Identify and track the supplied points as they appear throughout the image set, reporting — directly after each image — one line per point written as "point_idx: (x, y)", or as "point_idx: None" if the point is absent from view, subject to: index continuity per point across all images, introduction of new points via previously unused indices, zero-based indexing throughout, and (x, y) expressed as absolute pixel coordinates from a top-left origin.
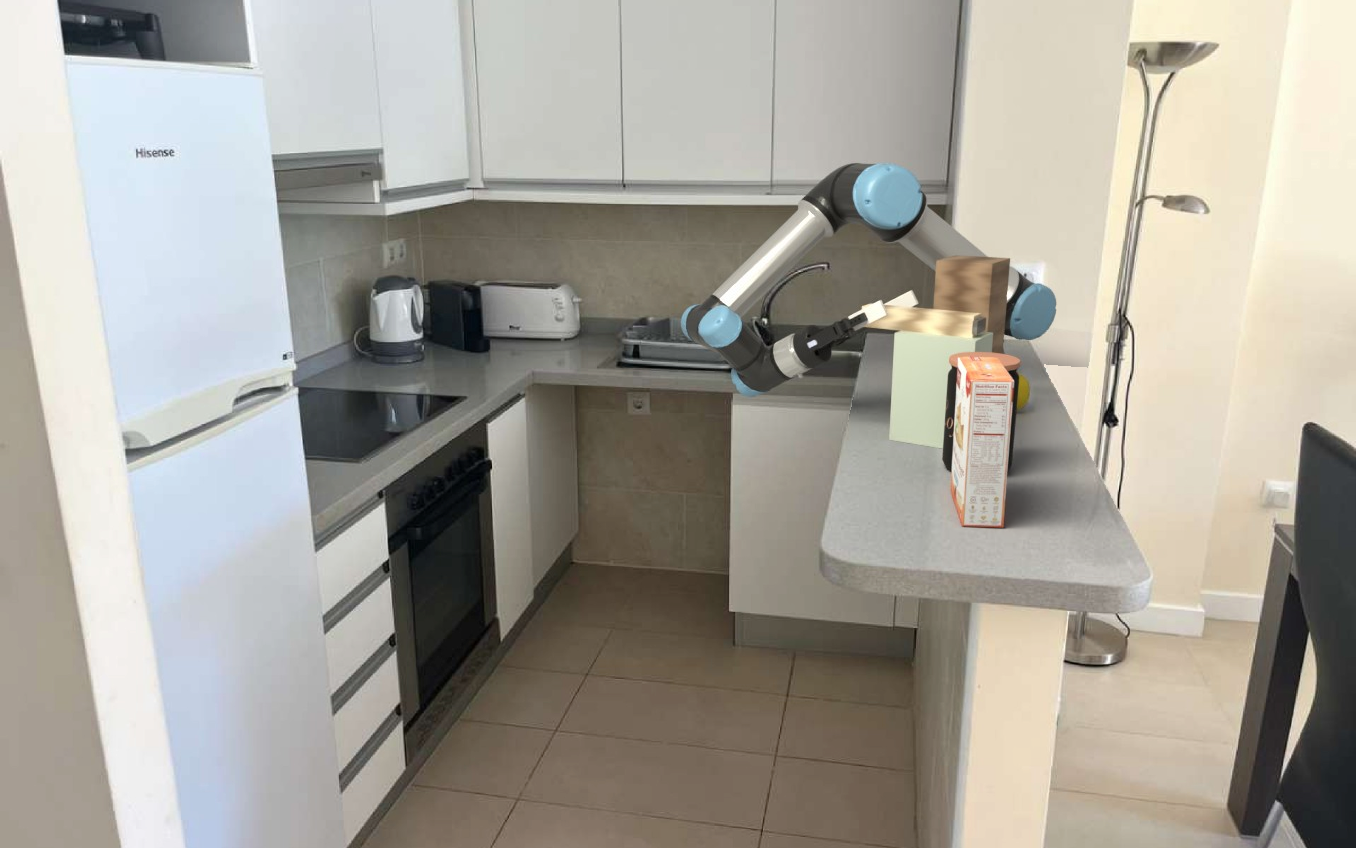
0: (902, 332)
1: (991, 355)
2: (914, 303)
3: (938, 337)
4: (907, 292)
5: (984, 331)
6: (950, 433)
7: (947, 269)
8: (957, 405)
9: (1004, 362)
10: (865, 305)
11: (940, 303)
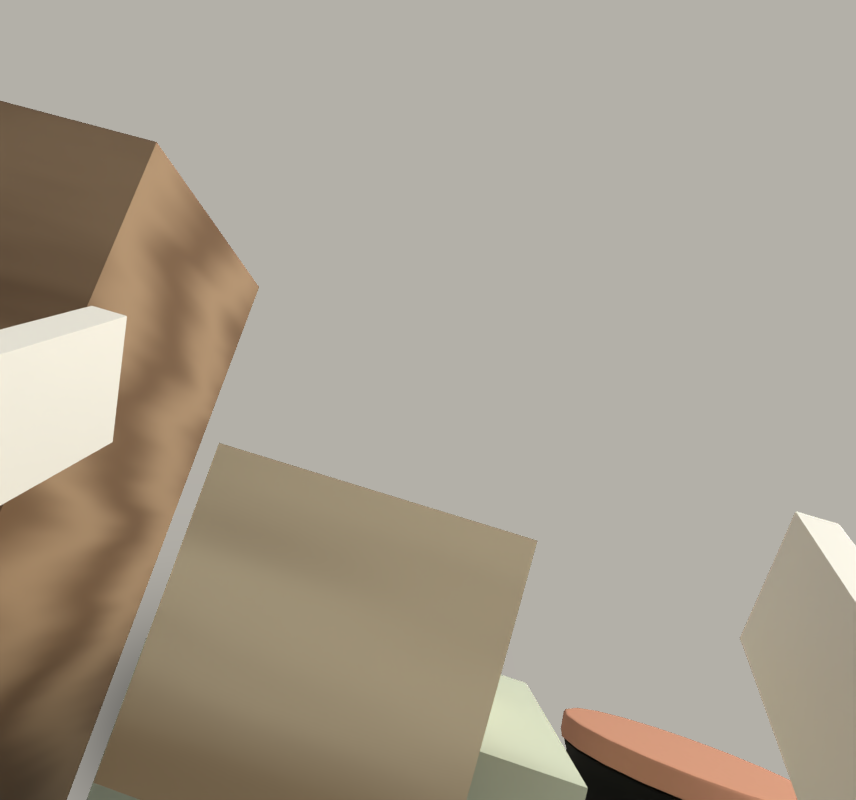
0: (521, 756)
1: (622, 730)
2: (102, 435)
3: (540, 713)
4: (103, 326)
5: (137, 592)
6: None
7: (167, 230)
8: None
9: (695, 745)
10: (435, 510)
11: None
